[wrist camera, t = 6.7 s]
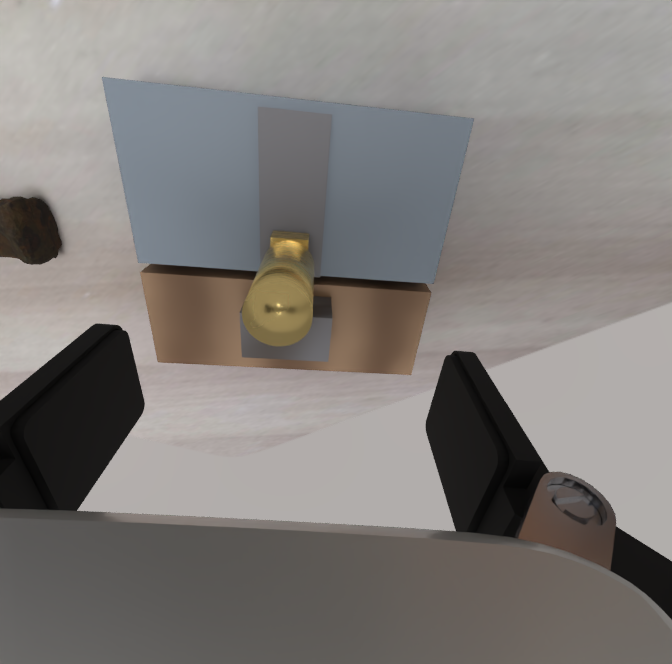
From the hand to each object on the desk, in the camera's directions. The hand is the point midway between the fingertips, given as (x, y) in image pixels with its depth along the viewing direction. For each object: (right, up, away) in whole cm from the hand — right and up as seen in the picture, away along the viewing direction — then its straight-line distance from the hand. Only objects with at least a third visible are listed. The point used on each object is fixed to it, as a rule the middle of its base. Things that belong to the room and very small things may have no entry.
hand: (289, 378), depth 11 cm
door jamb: (-2, +4, +16) cm, 17 cm away
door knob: (-1, +4, +11) cm, 12 cm away
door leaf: (-1, +11, +12) cm, 16 cm away
